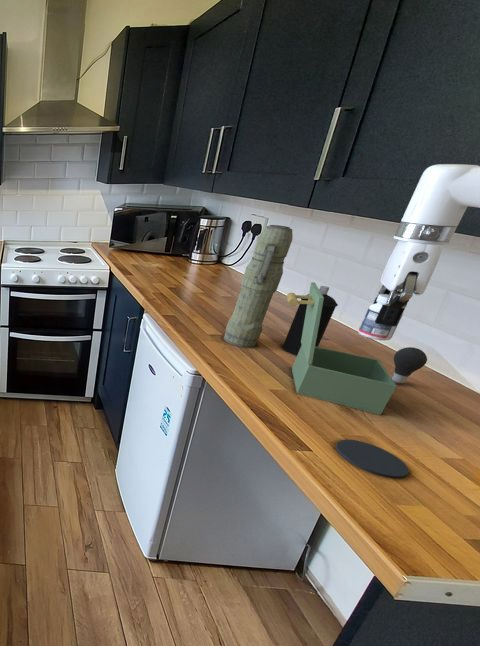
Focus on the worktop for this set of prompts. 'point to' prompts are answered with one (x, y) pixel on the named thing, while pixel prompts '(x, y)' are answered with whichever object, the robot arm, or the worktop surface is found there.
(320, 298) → the chest lid
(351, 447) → the coaster
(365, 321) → the pill bottle
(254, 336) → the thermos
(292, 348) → the aerosol can
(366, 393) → the chest
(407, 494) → the worktop surface
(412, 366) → the light bulb
